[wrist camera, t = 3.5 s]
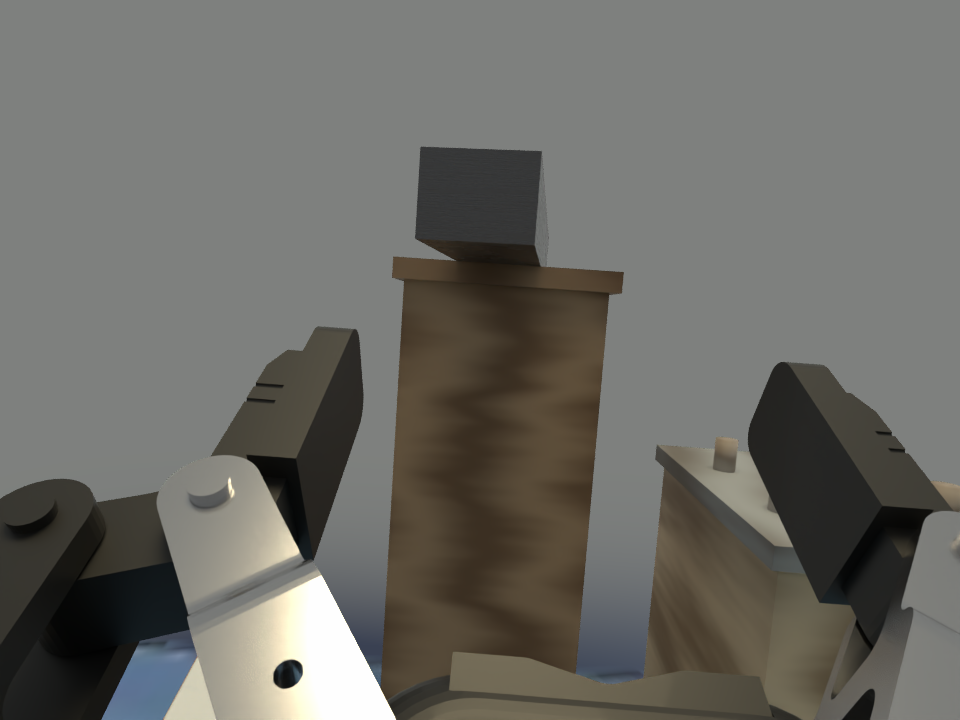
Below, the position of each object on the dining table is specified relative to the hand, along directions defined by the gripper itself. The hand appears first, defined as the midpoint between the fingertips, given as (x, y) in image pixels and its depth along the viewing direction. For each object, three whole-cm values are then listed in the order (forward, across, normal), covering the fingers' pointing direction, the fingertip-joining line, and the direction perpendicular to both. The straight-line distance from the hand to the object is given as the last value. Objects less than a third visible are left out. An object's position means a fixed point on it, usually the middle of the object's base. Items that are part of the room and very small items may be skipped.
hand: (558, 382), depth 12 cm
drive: (+18, +1, +6) cm, 20 cm away
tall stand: (+5, +1, +36) cm, 36 cm away
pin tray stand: (+3, -16, +34) cm, 38 cm away
